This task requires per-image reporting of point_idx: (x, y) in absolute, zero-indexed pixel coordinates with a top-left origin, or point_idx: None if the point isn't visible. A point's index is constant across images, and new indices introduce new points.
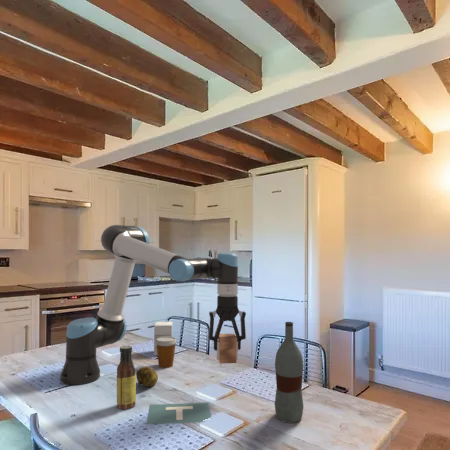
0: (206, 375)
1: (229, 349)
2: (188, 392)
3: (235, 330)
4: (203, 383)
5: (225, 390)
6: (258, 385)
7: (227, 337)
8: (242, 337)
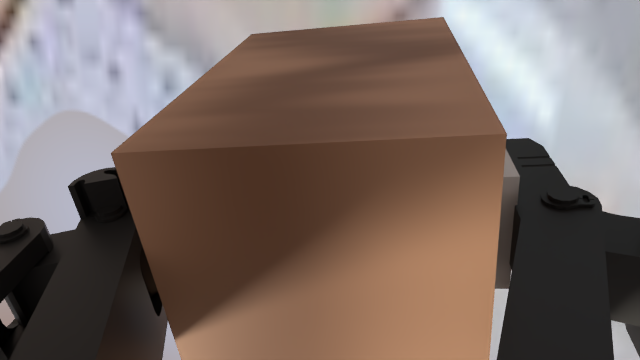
0: None
1: (307, 69)
2: (611, 109)
3: (84, 338)
4: None
5: None
6: None
7: (315, 169)
8: (37, 235)
